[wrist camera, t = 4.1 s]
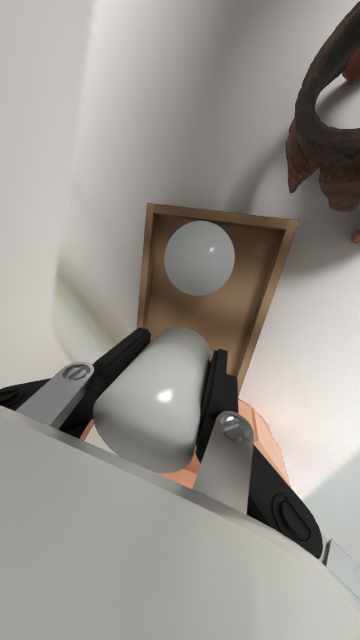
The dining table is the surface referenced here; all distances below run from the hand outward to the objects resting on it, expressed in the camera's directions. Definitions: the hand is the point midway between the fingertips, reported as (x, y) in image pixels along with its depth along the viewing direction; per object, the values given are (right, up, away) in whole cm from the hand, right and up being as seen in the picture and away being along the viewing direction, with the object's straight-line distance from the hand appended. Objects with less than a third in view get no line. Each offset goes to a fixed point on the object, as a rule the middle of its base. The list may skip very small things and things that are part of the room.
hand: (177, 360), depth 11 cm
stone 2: (+3, +7, +4) cm, 9 cm away
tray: (+2, +3, +6) cm, 8 cm away
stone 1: (0, 0, +1) cm, 1 cm away
